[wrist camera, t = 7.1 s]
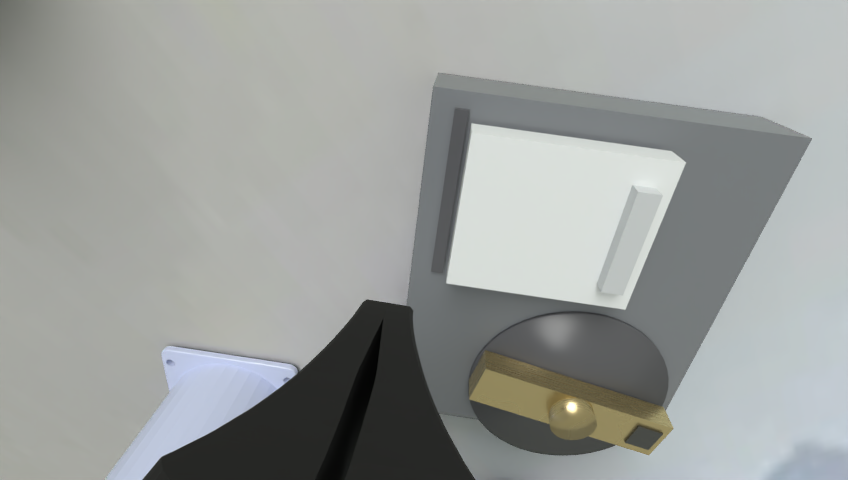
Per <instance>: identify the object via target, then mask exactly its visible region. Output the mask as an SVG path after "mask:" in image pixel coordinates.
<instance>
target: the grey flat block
mask: <svg viewBox="0 0 848 480" xmlns="http://www.w3.org/2000/svg"><path fill="white" fill-rule="evenodd" d="M471 123H473V124H480V125H488V126H495V127H502V128H509V129H516V130H524V131H531V132H538V133H545V134H552V135H560V136H567V137H574V138H581V139H588V140H596V141H603V142H610V143H617V144H624V145H632V146H639V147H646V148H653V149H660V150H668V151H672V152H674V153H675V154H676V155H677V156H679V157H680V158H681V159H682V160H684V161H685V162H686V164H685V166H684V169H683V171H682V174H681V176H680V178H679V181H678V183H677V186H676V188H675V191H674V193H673V195H672V198H671V200H670V203H669V205H668V208H667V210H666V212H665V215H664V217H663V220H662V222H661V225H660V227H659V229H658V232H657V234H656V237H655V239H654V241H653V244H652V246H651V249H650V251H649V254H648V256H647V258H646V261H645V263H644V266H643V268H642V271H641V273H640V275H639V278H638V280H637V283H636V285H635V288H634V290H633V292H632V295H631V297H630V300H629V302H628V304H627V307H626V309H625V310H624V309H617V308H610V307H604V306H597V305H590V304H583V303H576V302H570V301H563V300H556V299H549V298H542V297H535V296H529V295H522V294H515V293H508V292H501V291H495V290H488V289H481V288H474V287H467V286H460V285H454V284H447V283H446V279H447V267H448V261H449V255H450V249H451V243H452V237H453V231H454V225H455V219H456V213H457V207H458V201H459V195H460V189H461V183H462V177H463V171H464V165H465V159H466V153H467V147H468V141H469V135H470V129H471ZM811 140H812V138H810V137H808V136H805V135H803V134H801V133H798V132H796V131H794V130H791V129H789V128H787V127H784V126H782V125H780V124H777V123H775V122H773V121H770V120H768V119H766V118H763V117H758V116H750V115H743V114H736V113H728V112H721V111H714V110H707V109H699V108H692V107H685V106H677V105H670V104H663V103H655V102H648V101H641V100H633V99H626V98H619V97H611V96H604V95H597V94H589V93H582V92H575V91H568V90H560V89H553V88H546V87H538V86H531V85H524V84H516V83H509V82H502V81H494V80H487V79H480V78H472V77H465V76H458V75H451V74H443V73H438V75H437V78H436V80H435V83H434V86H433V92H432V101H431V109H430V117H429V125H428V134H427V142H426V150H425V158H424V167H423V175H422V183H421V191H420V200H419V208H418V216H417V224H416V233H415V241H414V249H413V257H412V266H411V274H410V282H409V290H408V299H407V306H410V307H411V308H412V309H413V328H414V335H415V341H416V346H417V350H418V354H419V358H420V362H421V366H422V369H423V373H424V376H425V379H426V382H427V385H428V388H429V391H430V393H431V396H432V399H433V401H434V404H435V406H436V408H437V411H438V413H439V414H446V415H453V416H459V417H466V418H472V419H479V421H480V422H481V423H482V424H483V425H484V426H485V427H486V428H487V429H488V430H489V431H490V432H491V433H492V434H494V435H495V436H497V437H498V438H500V439H501V440H503V441H505V442H507V443H509V444H511V445H513V446H515V447H518V448H520V449H524V450H527V451H531V452H535V453H540V454H548V455H579V454H586V453H591V452H596V451H600V450H603V449H606V448H610V447H612V446H615V444H611V443H608V442H605V441H602V440H598V439H595V438H592V437H589V436H588V437H586V438H583V439H579V440H565V439H562V438H559V437H557V436H556V435H555V434H554V433H553V432H552V431H551V429H550V424H547V423H544V422H541V421H537V420H534V419H531V418H528V417H525V416H521V415H518V414H515V413H512V412H508V411H505V410H502V409H499V408H496V407H492V406H489V405H486V404H483V403H479V402H476V401H473V400H470V399H469V379H470V377H471V375H472V373H473V371H474V369H475V368H476V366H477V364H478V362H479V360H480V358H481V356H482V355H483V353H484V351H485V350H487V351H490V352H493V353H496V354H499V355H502V356H505V357H508V358H512V359H515V360H518V361H521V362H524V363H527V364H530V365H533V366H537V367H540V368H543V369H546V370H549V371H552V372H555V373H558V374H561V375H565V376H568V377H571V378H574V379H577V380H580V381H583V382H586V383H590V384H593V385H596V386H599V387H602V388H605V389H608V390H611V391H614V392H618V393H621V394H624V395H627V396H630V397H633V398H636V399H639V400H642V401H646V402H649V403H652V404H655V405H658V406H661V407H664V409H665V411H666V409H667V407H668V405H669V403H670V402H671V400H672V398H673V396H674V394H675V392H676V390H677V389H678V387H679V385H680V383H681V381H682V379H683V377H684V376H685V374H686V372H687V370H688V368H689V366H690V364H691V363H692V361H693V359H694V357H695V355H696V353H697V351H698V350H699V348H700V346H701V344H702V342H703V340H704V338H705V337H706V335H707V333H708V331H709V329H710V327H711V325H712V324H713V322H714V320H715V318H716V316H717V314H718V312H719V311H720V309H721V307H722V305H723V303H724V301H725V299H726V298H727V296H728V294H729V292H730V290H731V288H732V286H733V285H734V283H735V281H736V279H737V277H738V275H739V273H740V272H741V270H742V268H743V266H744V264H745V262H746V260H747V259H748V257H749V255H750V253H751V251H752V249H753V247H754V246H755V244H756V242H757V240H758V238H759V236H760V234H761V233H762V231H763V229H764V227H765V225H766V223H767V221H768V220H769V218H770V216H771V214H772V212H773V210H774V208H775V207H776V205H777V203H778V201H779V199H780V197H781V195H782V194H783V192H784V190H785V188H786V186H787V184H788V182H789V181H790V179H791V177H792V175H793V173H794V171H795V169H796V168H797V166H798V164H799V162H800V160H801V158H802V156H803V155H804V153H805V151H806V149H807V147H808V145H809V143H810V142H811Z"/></svg>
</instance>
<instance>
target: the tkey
mask: <svg viewBox="0 0 848 480" xmlns="http://www.w3.org/2000/svg"><path fill="white" fill-rule="evenodd" d="M469 399H470V400H473V401H476V402H479V403H483V404H486V405H489V406H492V407H496V408H499V409H502V410H505V411H508V412H512V413H515V414H518V415H521V416H525V417H528V418H531V419H534V420H537V421H541V422H544V423H547V424H550V429H551V431H552V432H553V433H554V434H555V435H556V436H557V437H559V438H562V439H565V440H579V439H583V438H586V437H588V436H589V437H592V438H595V439H598V440H602V441H605V442H608V443H611V444H615V445H618V446H621V447H624V448H627V449H631V450H634V451H637V452H640V453H644V454H647V455H650V453H651V452H652V451H653V450H654V449H655V448H656V447H657V446H658V445H659V444H660V443H661V442H662V440H663V439H664V438H665V437H666V436H667V435H668V434H669V433H670V432H671V431H672V430H673V426H672V424H671V422H670V420H669V418H668V416H667V414H666V411H665V409H664V407H661V406H658V405H655V404H652V403H649V402H646V401H642V400H639V399H636V398H633V397H630V396H627V395H624V394H621V393H618V392H614V391H611V390H608V389H605V388H602V387H599V386H596V385H593V384H590V383H586V382H583V381H580V380H577V379H574V378H571V377H568V376H565V375H561V374H558V373H555V372H552V371H549V370H546V369H543V368H540V367H537V366H533V365H530V364H527V363H524V362H521V361H518V360H515V359H512V358H508V357H505V356H502V355H499V354H496V353H493V352H490V351H487V350H485V351H484V353H483V355H482V356H481V358H480V360H479V362H478V364H477V366H476V368H475V369H474V371H473V373H472V375H471V377H470V379H469Z"/></svg>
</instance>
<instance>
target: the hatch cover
mask: <svg viewBox="0 0 848 480" xmlns="http://www.w3.org/2000/svg"><path fill="white" fill-rule="evenodd" d="M685 164H686V162H685V161H684V160H682V159H681V158H680V157H679V156H677V155H676V154H675V153H674V152H672V151H668V150H660V149H653V148H646V147H639V146H632V145H624V144H617V143H610V142H603V141H596V140H588V139H581V138H574V137H567V136H560V135H552V134H545V133H538V132H531V131H524V130H516V129H509V128H502V127H495V126H488V125H480V124H473V123H471V129H470V135H469V141H468V147H467V153H466V159H465V165H464V171H463V177H462V183H461V189H460V195H459V201H458V207H457V213H456V219H455V225H454V231H453V237H452V243H451V249H450V255H449V261H448V267H447V279H446V283H447V284H454V285H460V286H467V287H474V288H481V289H488V290H495V291H501V292H508V293H515V294H522V295H529V296H535V297H542V298H549V299H556V300H563V301H570V302H576V303H583V304H590V305H597V306H604V307H610V308H617V309H624V310H625V309H626V307H627V304H628V302H629V300H630V297H631V295H632V292H633V290H634V288H635V285H636V283H637V280H638V278H639V275H640V273H641V271H642V268H643V266H644V263H645V261H646V258H647V256H648V254H649V251H650V249H651V246H652V244H653V241H654V239H655V237H656V234H657V232H658V229H659V227H660V225H661V222H662V220H663V217H664V215H665V212H666V210H667V208H668V205H669V203H670V200H671V198H672V195H673V193H674V191H675V188H676V186H677V183H678V181H679V178H680V176H681V174H682V171H683V169H684V166H685Z"/></svg>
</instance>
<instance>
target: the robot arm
mask: <svg viewBox="0 0 848 480" xmlns="http://www.w3.org/2000/svg"><path fill="white" fill-rule="evenodd" d="M161 355H162V360H163V364H164V369H165V374H166V378H167V383H168V387H169V392H170V393H169V394H168V395H167V397H166V398H165V399H164V401H163V402H162V403H161V405H160V406H159V407H158V409H157V410H156V411H155V413H154V414H153V415H152V417H151V418H150V419H149V421H148V422H147V423H146V425H145V426H144V427H143V429H142V430H141V431H140V433H139V434H138V435H137V437H136V438H135V439H134V441H133V442H132V443H131V445H130V446H129V447H128V449H127V450H126V451H125V453H124V454H123V455H122V457H121V458H120V459H119V461H118V462H117V463H116V465H115V466H114V467H113V469H112V470H111V471H110V473H109V474H108V475H107V477H106V478H105V479H104V480H475V479H474V477H473V476H472V474H471V472H470V471H469V469H468V468H467V466H466V464H465V463H464V461H463V459H462V458H461V456H460V454H459V452H458V450H457V449H456V447H455V445H454V443H453V441H452V439H451V438H450V436H449V434H448V432H447V430H446V428H445V426H444V424H443V422H442V420H441V417H440V415H439V413H438V411H437V408H436V406H435V404H434V401H433V399H432V396H431V393H430V391H429V388H428V385H427V382H426V379H425V376H424V373H423V369H422V366H421V362H420V358H419V354H418V350H417V346H416V341H415V335H414V328H413V309H412V308H411V307H410V306H404V305H397V304H391V303H385V302H379V301H373V300H366V301H364V302H363V303H362V304H361V306H360V307H359V309H358V310H357V312H356V313H355V314H354V315H353V317H352V318H351V319H350V320H349V322H348V323H347V324H346V325H345V326H344V328H343V329H342V330H341V331H340V332H339V333H338V334H337V335H336V336H335V338H334V339H333V340H332V341H331V342H330V343H329V344H328V345H327V346H326V347H325V348H324V349H323V350H322V351H321V352H320V353H319V354H318V355H317V356H316V357H315V358H314V359H313V360H312V361H311V362H310V363H309V364H308V365H306V366H305V367H304V368H303V369H302V370H301V371H300V372H298V370H297V368H296V367H295V366H293V365H291V364H286V363H280V362H273V361H266V360H260V359H253V358H247V357H240V356H233V355H227V354H220V353H214V352H207V351H200V350H194V349H187V348H181V347H174V346H167V347H166V348H165V349H164V350H163V351H162V353H161ZM288 378H290V379H288Z"/></svg>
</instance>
